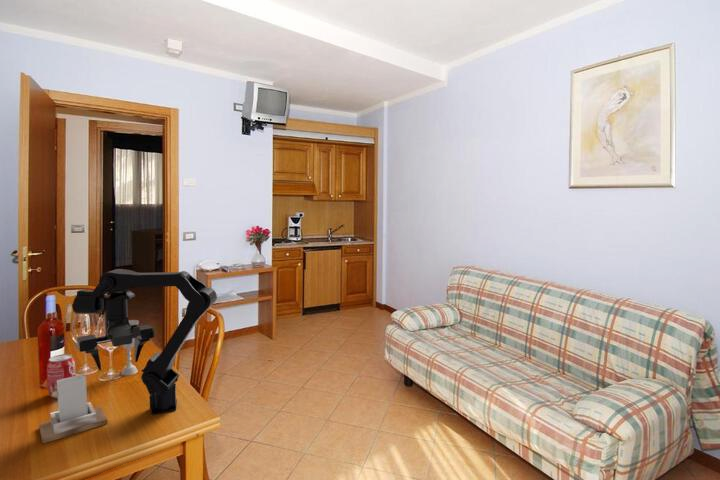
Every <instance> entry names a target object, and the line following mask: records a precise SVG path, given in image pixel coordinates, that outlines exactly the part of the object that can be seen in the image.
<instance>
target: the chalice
mask: <svg viewBox="0 0 720 480" xmlns="http://www.w3.org/2000/svg"><path fill="white" fill-rule="evenodd" d="M128 320H129V324H130V325H136V324H139V323H140V320H137V319H128ZM134 342H135V338H133V340H132V343H131V344H125V345H121V346H122V348H123V349H124V350H126V356H127V358H126V359H125V360H126V361H127V364H126V365H124V367H123V370H122V371H121V373H120V374H121V375H122V376H132V375H134V374H136V373H138V369H137V367H136V365H135V364H133V363H132V362H131V361H132V359H133V358H132V357H131V355H132V352H131V350H132V349H133V348H134Z"/></svg>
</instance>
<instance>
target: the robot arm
mask: <svg viewBox="0 0 720 480" xmlns="http://www.w3.org/2000/svg"><path fill="white" fill-rule="evenodd" d="M98 281H99V282H98V284H97V285H96V286H95V288H94V289H93V290H91V289H89V290H88V289H79V290H77V291H76V295H75V297H74V299H73V302H72V304H71V305H72V306H71V308H72V312H73V313H74V314H77V315H97V314H101V313H102V311H104V313H103V314H104V333H105V334H104V335H102V336H97V337H96V336H95V335H94V334H93V333H92V334H88V335H81V336H78V338H77V339H76V348H77V350H78V351H79V352H81V353H82V352H84V354H90V356H92V358H93V361H94V362H95V365H96V367H97V370H98V371H102V365H101V358H100V355H99V349H98V345H101V344H107V343H111V344H112V346H113V347H114V348H115V347H117V348H118V347H120V346H122V345H125V344H131V343H132V340H133V338H135V342H134V346H133V348H134V351H133V353H134V354H133V355H134V356H133V357H134V362H135V363H138V361H139V357H140V356H141V352H142V349H143V347H144V345H145V344H146V343H147V342H149V341H151V339H153V338H155V336H156V332H155V328H153V327H152V326H151V325H149V324H144V325H140V324H139V323H138V324H136V325H130V324H129V320H130V319H129V313H128V312H129V311H128V310H129V309H128V300H130V299H132V298H134V297H135V296H136V294H135V293H134V292H132V291H131V290H130V289H133V288H155V287H156V288H159V287H161V288H163V287H176V288H177V290H179V292H180V294H181V295H182V296H183V298H184V299H185V300H186V301H188V303H187V306H186V309H185V314H184V316H183V317H182V319H181V321H180V323H179V324H178V325H177V327H176V329H175V330H174V332H173V333H172V335H171V337H170V338H169V340H168V341H167V343H166V344H165V346H164V348H163V349H162V351H161V352H158V351H157V352H156V353H155V354H153V355H152V356H151V357H150V358H149V359H148V360H147V362H146V365H145V367H144V368H142V370H140V372H141V373H142V374H141V377H140V379H141V380H142V383H143V385H144V386H145V387H146V389H147V391H148V394H149V398H148V399H149V410H150V414H151V415H155V414H163V413H169V412H173V411H176V410H177V402H178V399H177V383H176V382H178V380H179V377H180V375H179V373H178V372H177V371H175V370H174V369H173V366H174V363H175V359H176V356H177V354H178V353H179V351H180V350H181V348H182V347H183V345H184V344H185V342H186V341H187V339H188V337H189V335H190V334H191V332H192V331H193V330H194V328H195V326H196V325H197V323H198V321H199V320H200V319H201V317H203V315H204V314H206V312H207V311H208V310H209V309H210V308H211V307H212V306H213V305H214V304H215V302H217V298H218V295H217V292H216V291H215V290H214V288H212V287H208V286H207V285H206V284H205V283H203V282H202V281H200V280H199V279H197V278H195V277H194V276H193V275H191V274H190V273H189V272H187V271H184V270H183V271H168V272H167V271H166V272H164V271H163V272H157V271H156V272H137V271H134V270H131V269H123V268H116V269H113V270H110V271H107V272H104V273H102V275H101V276H100V278H99V280H98ZM108 293H111V294H108Z"/></svg>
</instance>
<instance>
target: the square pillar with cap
mask: <svg viewBox="0 0 720 480" xmlns="http://www.w3.org/2000/svg"><path fill="white" fill-rule="evenodd" d="M52 395H53V396H54V397H56V396H58V398H57V407H58V410H57V411H59V417H58V418H59V423H60V422H64V421H67V420H70V419H74V418H77V417H81V416H84V415H88V411H87V403H88V398H87V397H88V396H87V395H88V393H87V377H86V376H85V374H84V373H83V374H79V375H75V376H74V377H69V378H65V379H61V380H57V391H55V392H53V394H52Z"/></svg>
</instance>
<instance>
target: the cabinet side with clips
mask: <svg viewBox="0 0 720 480" xmlns="http://www.w3.org/2000/svg"><path fill="white" fill-rule="evenodd" d="M87 411H88V415H84V416H81V417H77V418H74V419H70V420H67V421H64V422H60V423H59V418H58V417H59V411H58V410H57V411H53V412H50V413H49V415H50V420H49V421H46V422H42V423H39V424H38V427H39V433H40V438H41V441H42V442H41V443H42V444H45V443H48V442H53V441H56V440H59V439H62V438H65V437H68V436H72V435H75V434H78V433H81V432H85V431H89V430H91V429H93V428H97V427H100V426H103V425H107V424H108V418H107V415H105V412H104V410H103V408H102V407H101V406H98V407H95V408H94V406H93V405H92V402H91V401H90V402H87Z"/></svg>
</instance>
